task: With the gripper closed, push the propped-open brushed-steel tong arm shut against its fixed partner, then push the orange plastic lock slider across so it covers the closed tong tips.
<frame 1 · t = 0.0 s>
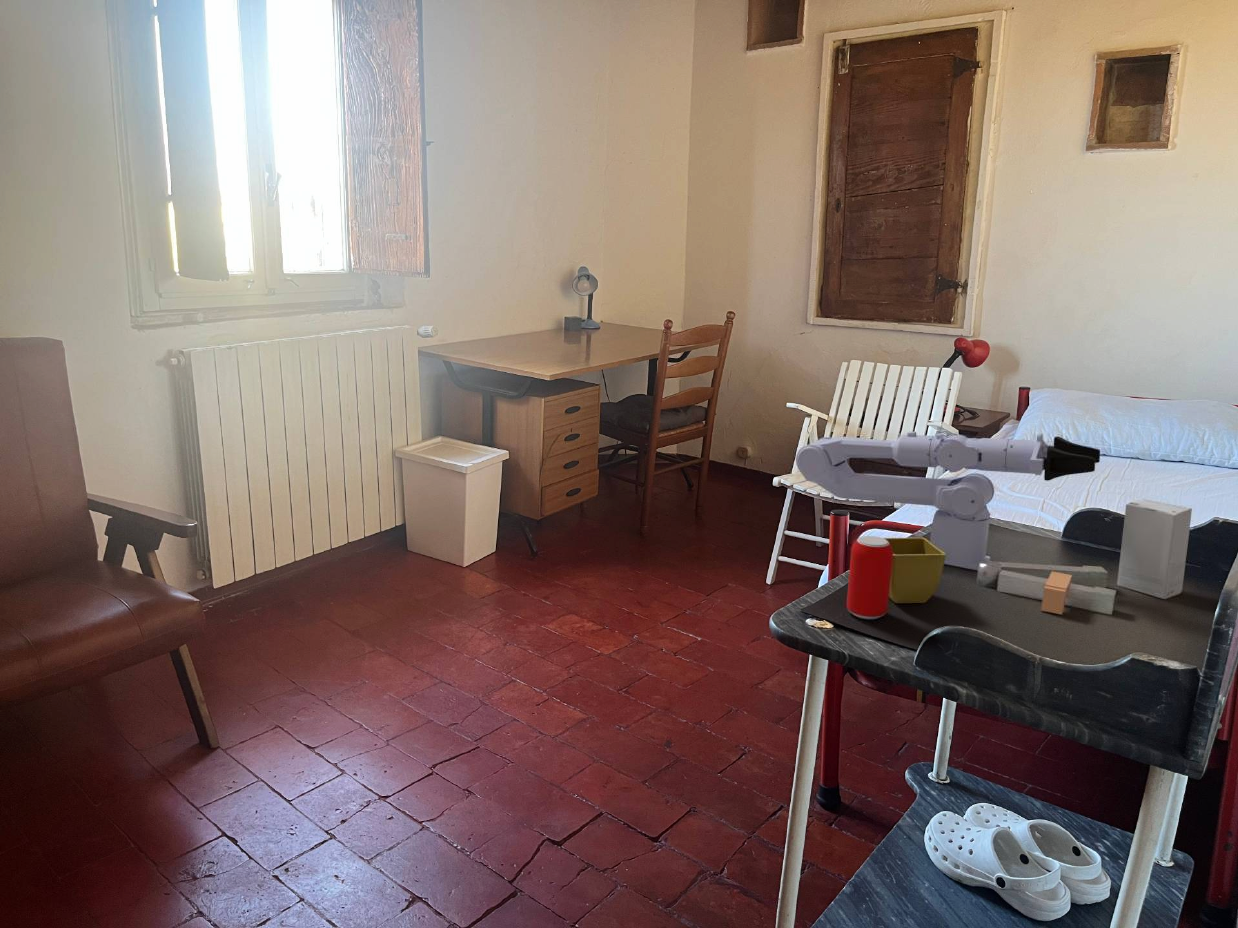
hand: (1097, 460, 150), 22 cm above the table, tool horizontal, fingers open, 7 cm apart
beverage can: (866, 615, 141), on the table
flower pot: (903, 599, 148), on the table
skincare box: (1146, 590, 154), on the table
lock slider: (1056, 592, 145), point 2 cm above the table, slide at 0.0 cm
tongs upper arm: (1040, 575, 154), point 2 cm above the table, hinge at 25.0°
tongs lower arm: (987, 583, 155), on the table
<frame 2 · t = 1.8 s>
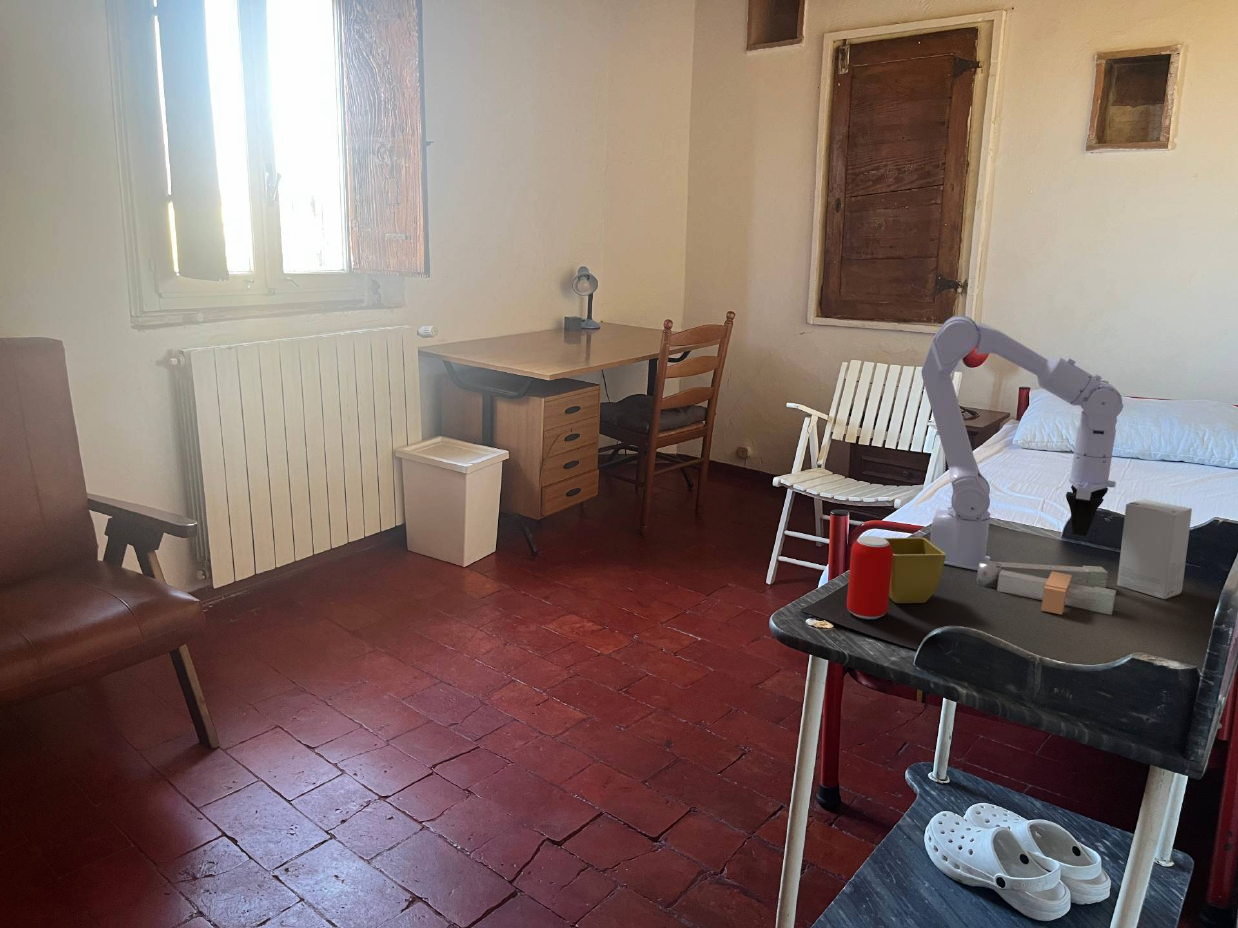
hand: (1081, 530, 157), 8 cm above the table, tool pointing down, fingers open, 5 cm apart
nothing on the table moved.
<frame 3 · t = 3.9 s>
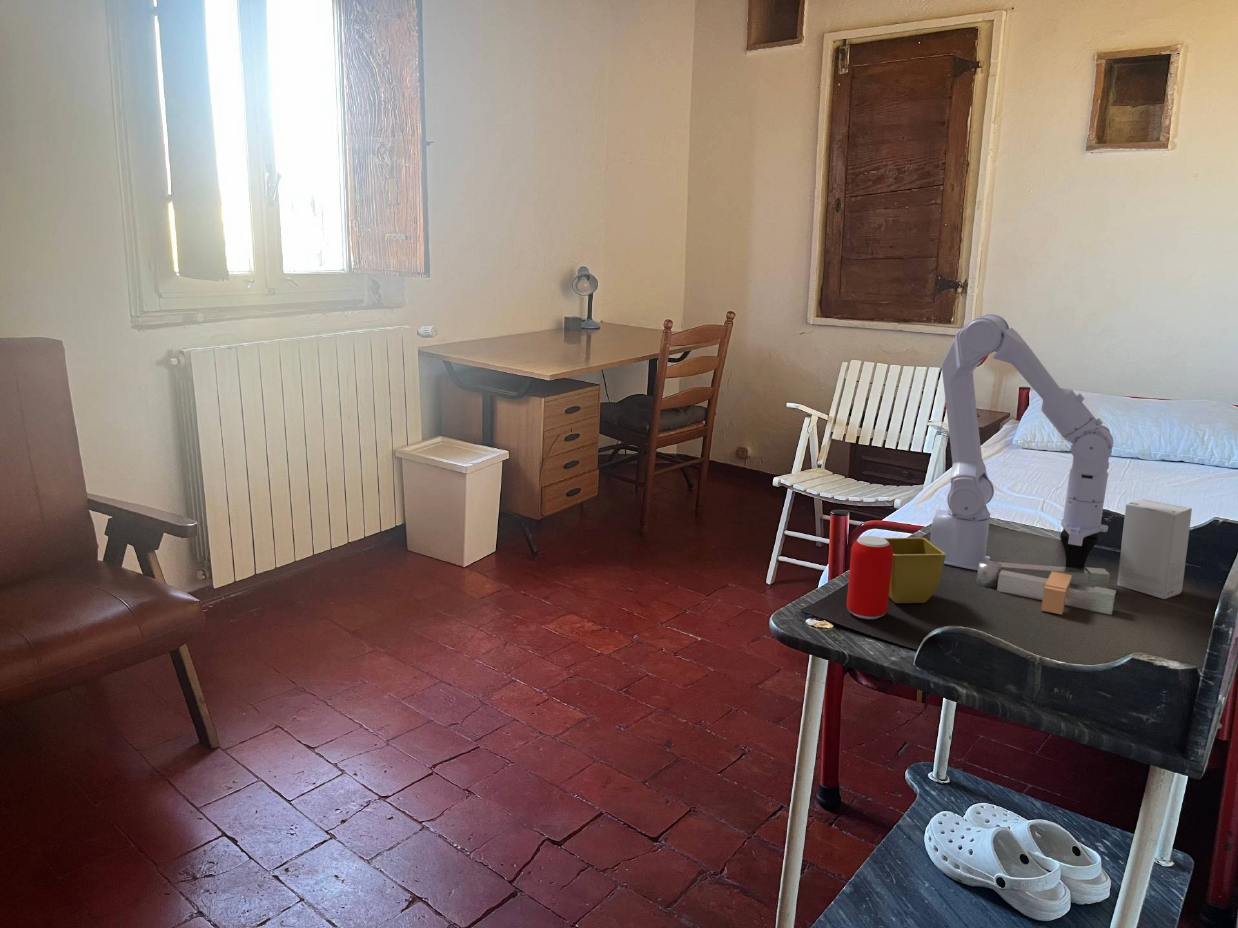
hand: (1073, 574, 156), 1 cm above the table, tool pointing down, fingers closed
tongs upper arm: (1041, 576, 154), point 2 cm above the table, hinge at 22.2°, touching gripper
everything else where it was.
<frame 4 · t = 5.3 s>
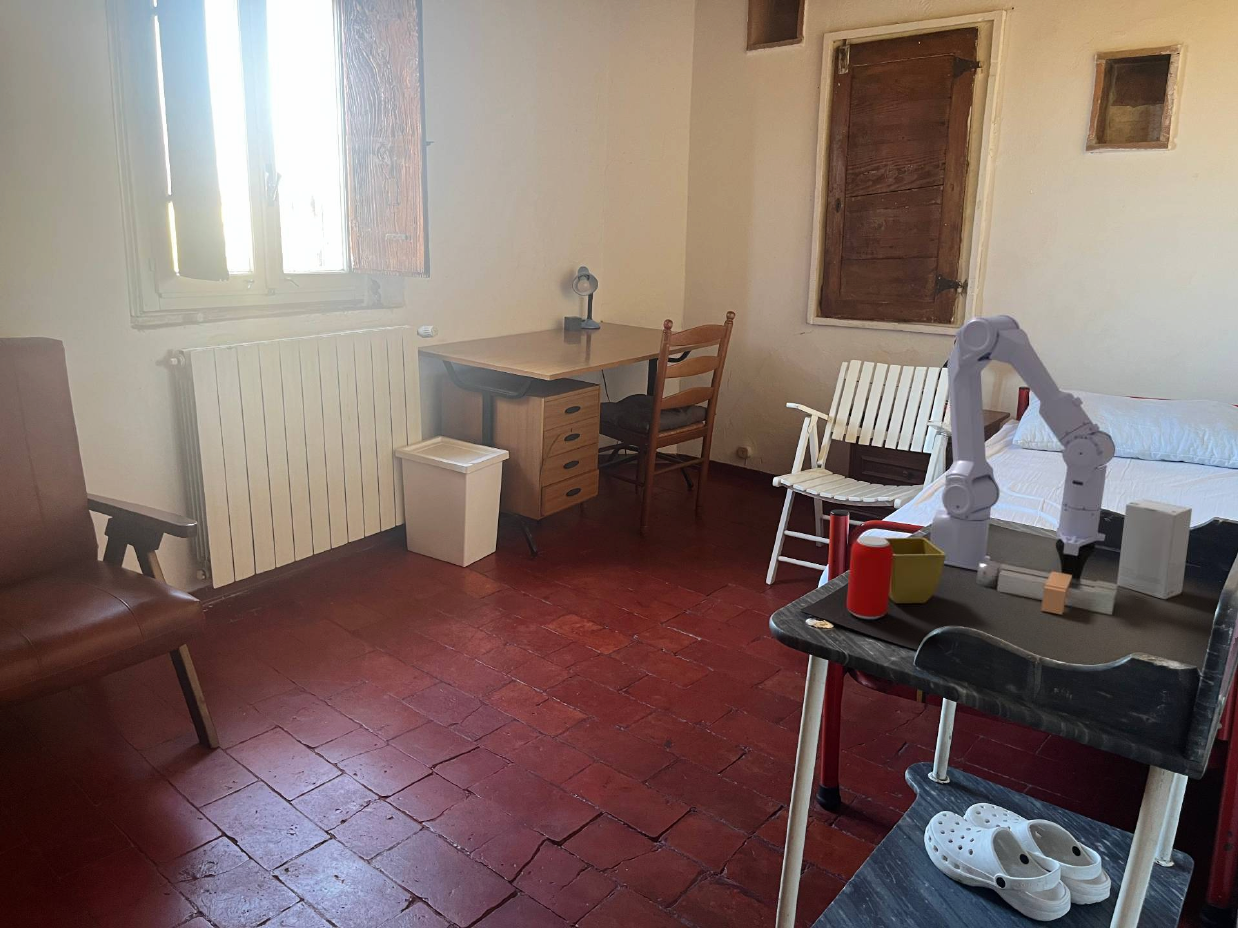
hand: (1069, 584, 151), 1 cm above the table, tool pointing down, fingers closed
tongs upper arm: (1044, 583, 150), point 2 cm above the table, hinge at -0.2°, touching gripper
everything else where it was.
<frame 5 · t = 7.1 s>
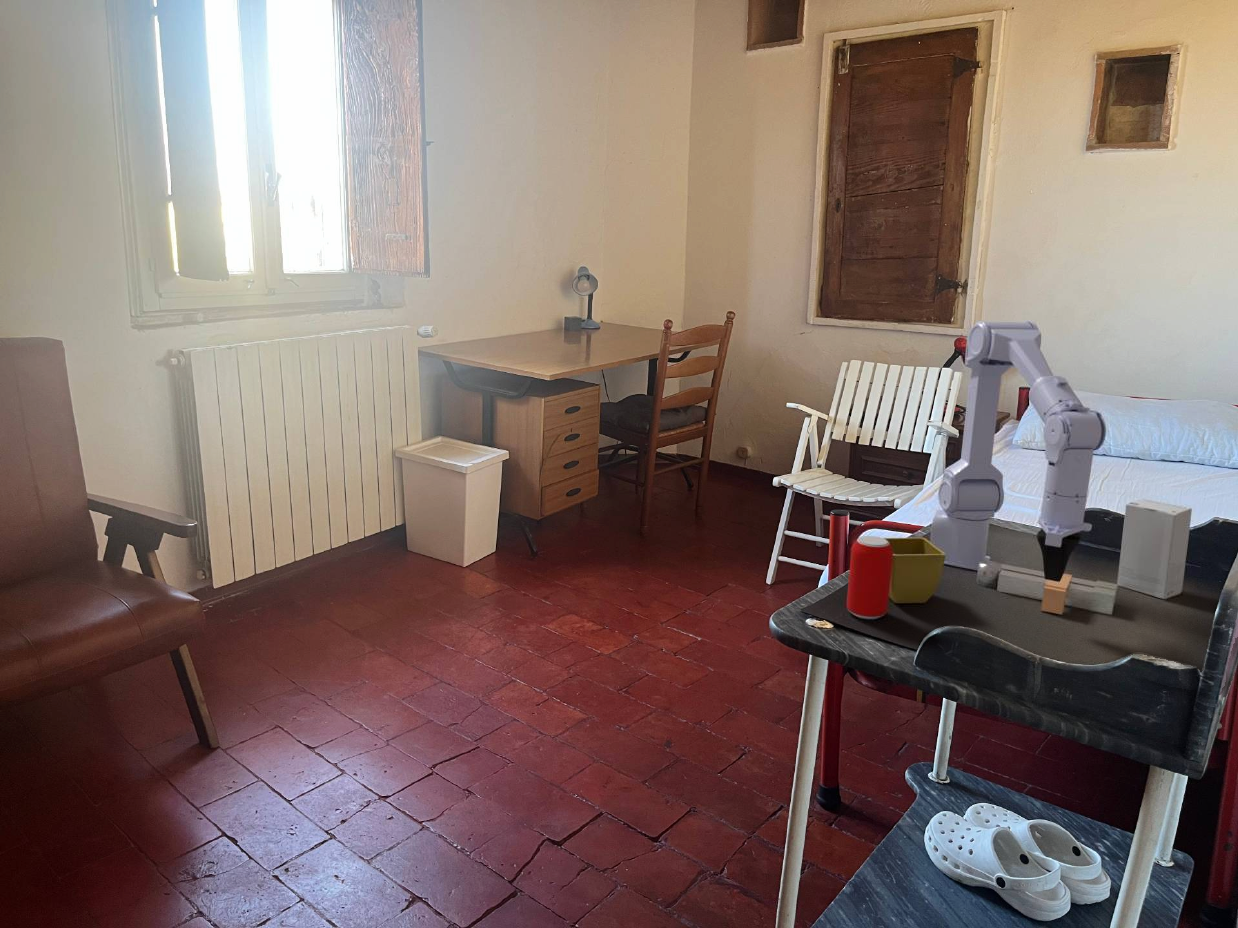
hand: (1052, 579, 137), 7 cm above the table, tool pointing down, fingers closed
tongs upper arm: (1044, 583, 150), point 2 cm above the table, hinge at -0.2°
everything else where it was.
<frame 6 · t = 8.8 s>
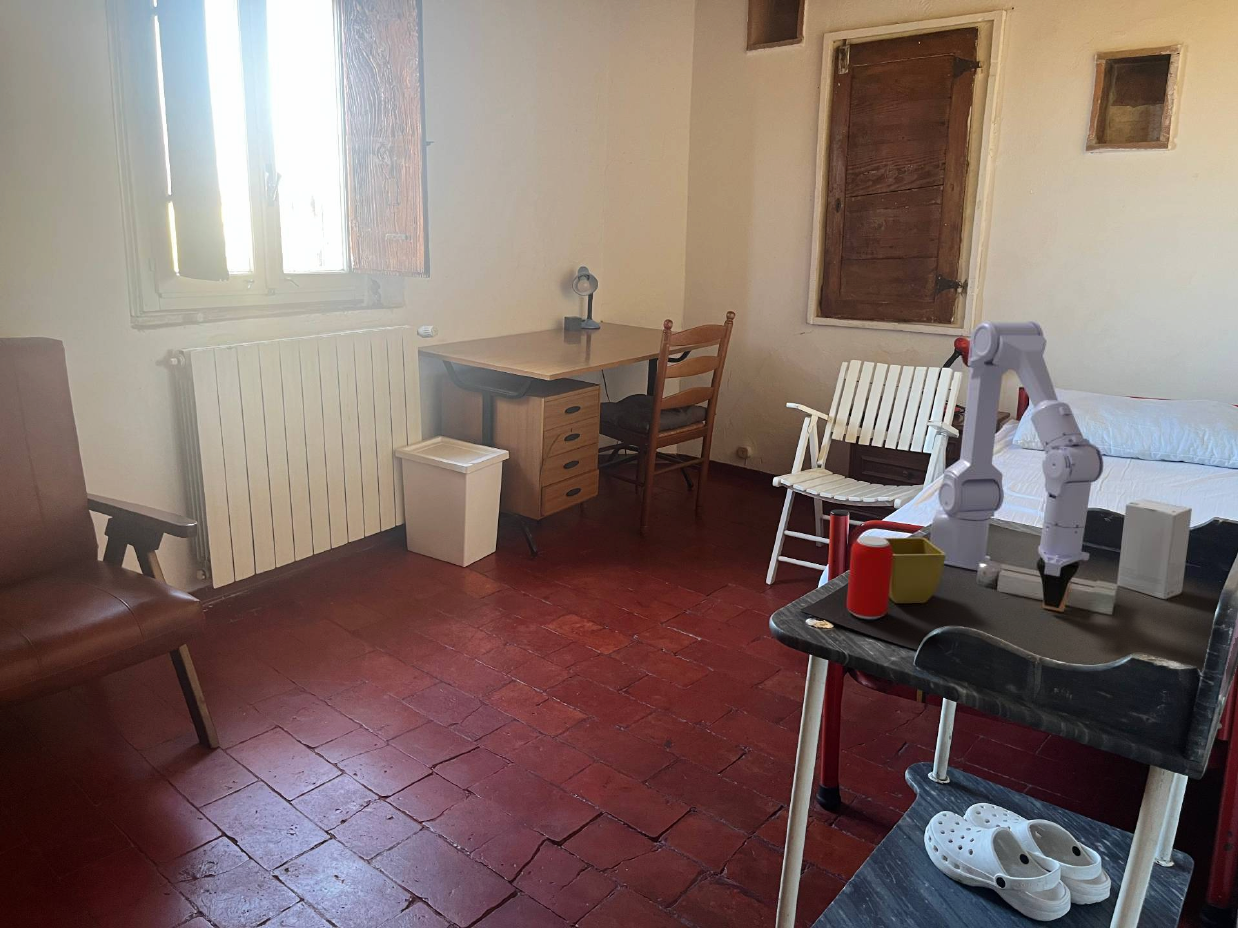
hand: (1052, 605, 142), 1 cm above the table, tool pointing down, fingers closed
lock slider: (1058, 589, 147), point 2 cm above the table, slide at 1.4 cm, touching gripper
everything else where it was.
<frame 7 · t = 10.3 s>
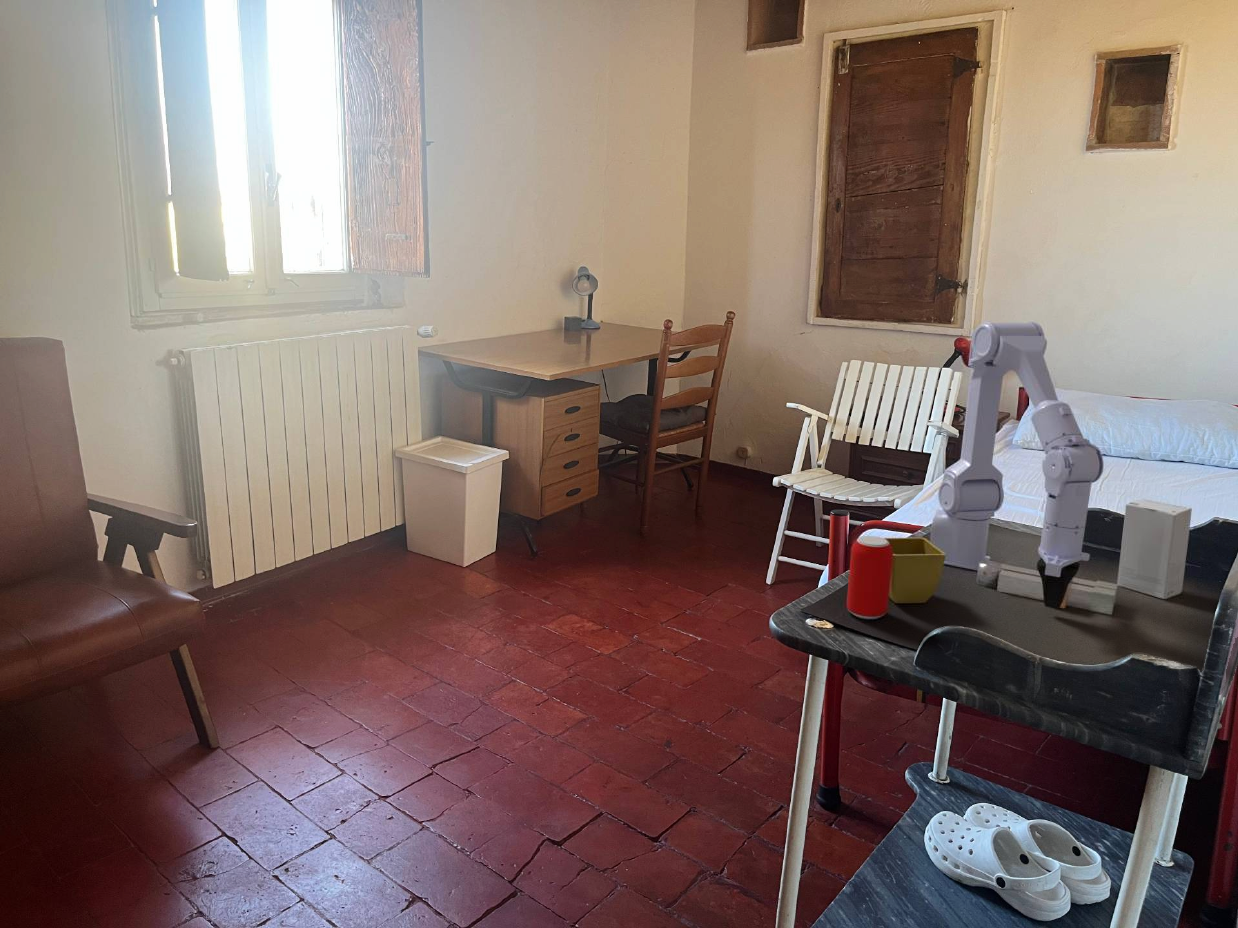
hand: (1052, 606, 142), 1 cm above the table, tool pointing down, fingers closed
lock slider: (1059, 586, 148), point 2 cm above the table, slide at 3.0 cm
everything else where it was.
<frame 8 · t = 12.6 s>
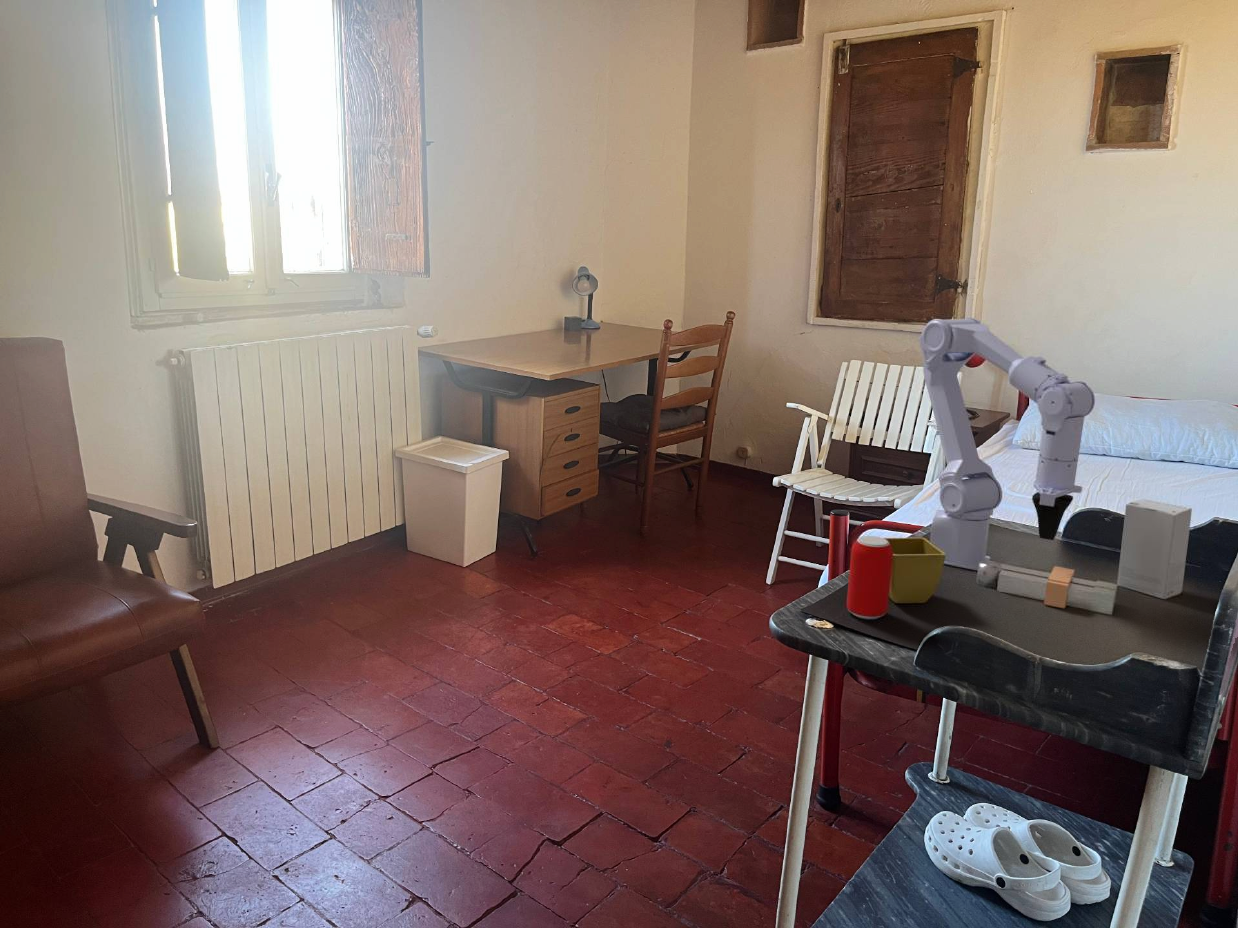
hand: (1047, 538, 149), 9 cm above the table, tool pointing down, fingers closed
nothing on the table moved.
at the end: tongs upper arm at +0° (first picture: +25°); lock slider slide at 3.0 cm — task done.
